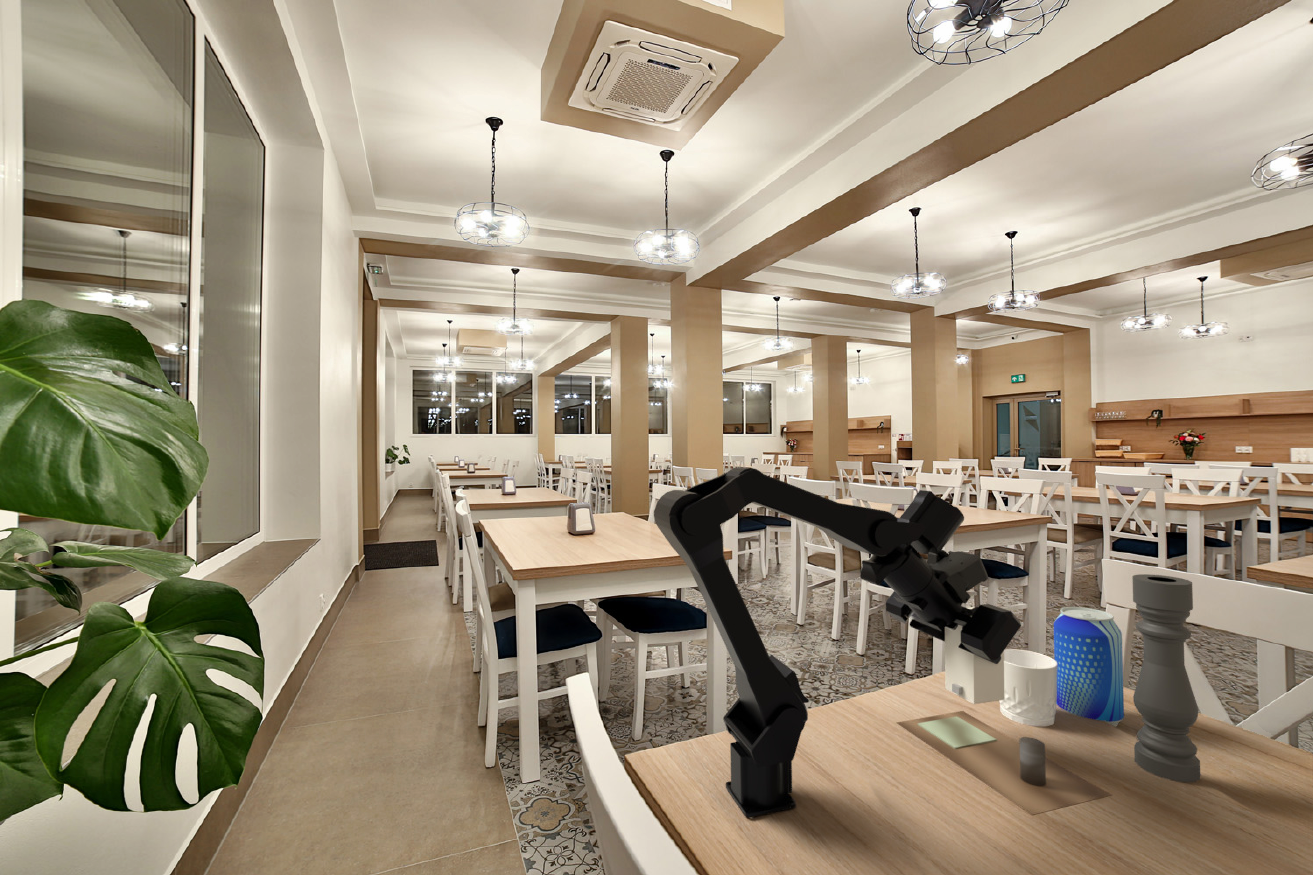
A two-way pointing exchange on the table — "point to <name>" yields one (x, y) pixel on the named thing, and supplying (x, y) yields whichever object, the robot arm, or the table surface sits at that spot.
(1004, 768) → the board
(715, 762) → the table surface
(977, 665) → the tall white prism
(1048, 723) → the white cup
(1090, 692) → the beer can
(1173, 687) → the candle holder
